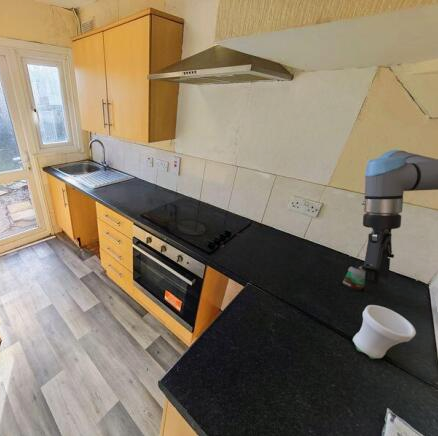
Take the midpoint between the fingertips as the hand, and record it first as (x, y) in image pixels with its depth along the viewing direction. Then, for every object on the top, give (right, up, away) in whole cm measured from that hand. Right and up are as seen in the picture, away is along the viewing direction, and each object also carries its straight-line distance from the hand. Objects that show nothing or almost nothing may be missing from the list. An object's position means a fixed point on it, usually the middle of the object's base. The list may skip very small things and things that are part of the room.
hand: (376, 284), depth 67 cm
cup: (+4, -23, +7) cm, 25 cm away
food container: (+25, -11, +34) cm, 43 cm away
